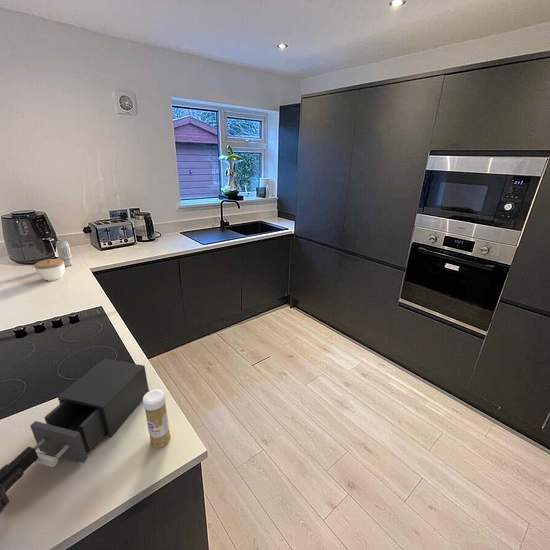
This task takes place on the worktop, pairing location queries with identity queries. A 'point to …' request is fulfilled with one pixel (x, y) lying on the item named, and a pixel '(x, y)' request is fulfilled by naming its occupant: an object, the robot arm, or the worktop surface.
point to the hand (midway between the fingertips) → (33, 452)
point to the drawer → (68, 432)
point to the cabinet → (110, 391)
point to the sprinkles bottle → (157, 418)
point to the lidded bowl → (50, 269)
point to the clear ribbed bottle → (64, 252)
